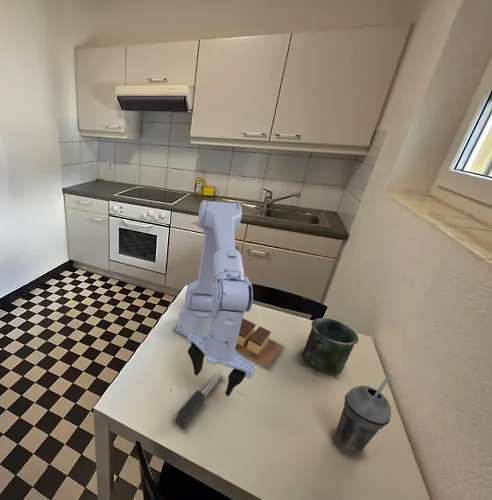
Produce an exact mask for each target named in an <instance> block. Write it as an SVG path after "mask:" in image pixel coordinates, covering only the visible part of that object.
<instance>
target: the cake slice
mask: <svg viewBox="0 0 492 500" xmlns="http://www.w3.org/2000/svg"><path fill="white" fill-rule="evenodd" d="M271 333H272V332H271V330H268V329H267V328H264V327H262V326H258V327H257V329H255V330H254V334H253V335H252V336H251V337H250V338H249V341H248V345H247V349H248V350H250V351H252V352H254V353H255V354H257V355H258V354H259V353H260V351H261V350H262V349H263V347H264V346H265V345H266V343H267V342H268V339H269V340H270V336H271Z"/></svg>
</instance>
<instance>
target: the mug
mask: <svg viewBox="0 0 492 500" xmlns="http://www.w3.org/2000/svg"><path fill="white" fill-rule="evenodd" d="M358 342H359V335H358V333H357V332H356V331H355V330H354V329H352V328H351V327H350V326H348V325H347V324H344V323H343V322H340V321H338V320H335V319H332V318H325V317H319V318H315V319H313V321H312V322H311V329H310V332H309V335H308V337H307V340H306V342H305V345H304V347H303V351H302V352H301V353H302V354H301V356H302V359H303V362H304V363H305V364H306V365H307V366H308V367H309V368H311V369H312V370H313V371H316V372H317V373H319V374H323V375H325V376H331V377H332V376H338V375H340V374H341V373H342V372H343V370H344V368H345V366H346V363H347V362H348V359H349V357H350V355H351V353H352V350H353V349H354V346H355V345H356V344H357V343H358Z"/></svg>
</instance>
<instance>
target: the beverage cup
mask: <svg viewBox="0 0 492 500" xmlns="http://www.w3.org/2000/svg"><path fill="white" fill-rule="evenodd" d="M391 378H392V375H391V374H388V375H387V376H386V378H385V379H384V380H383V381H382V383H381V384H380V386H379V387H378V389H375V388H373V387H371V386H367V385H358V386H354V387H352V388H351V389H350V390H349V391H348V392H347V393H346V394H345V396H344V404H343V408H342V412H341V415H340V418H339V420H338V424H337V426H336V430H335V434H334V437H333V440H334V443H335V444H336V446H337V447H338V448H339V449H340V450H341V451H342V452H344V454H346V455H349V456H353V457H355V456H358V455H359V454H360V452H363V450H364V449H365V448H366V446H367V445H368V444H369V443H370V441H371V440H372V439H373V438H374V437H375V435H377V433H378V432H379V431H380V430H382V429H383V428H385V426H387V425H388V424H389V423H390V422H391V417H392V407H391V405H390V403H389V400H388V399H387V398H386V396H385V395H384V394H383V393H382V391H383V390H384V388H385V387H386V385H387V384H388V382H389V381H390V380H391Z"/></svg>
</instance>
